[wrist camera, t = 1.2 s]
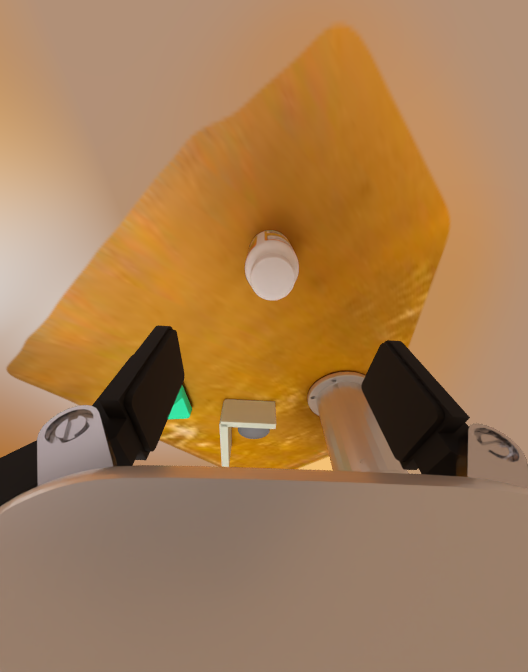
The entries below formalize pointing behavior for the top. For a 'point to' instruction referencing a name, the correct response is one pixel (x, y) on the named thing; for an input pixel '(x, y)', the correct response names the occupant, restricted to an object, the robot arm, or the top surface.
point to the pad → (253, 432)
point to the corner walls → (243, 420)
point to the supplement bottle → (271, 265)
